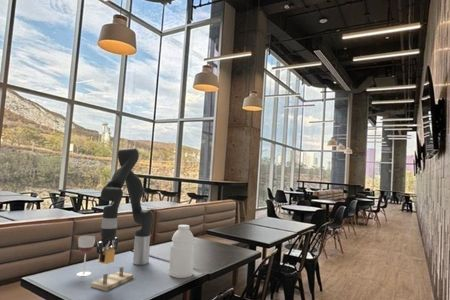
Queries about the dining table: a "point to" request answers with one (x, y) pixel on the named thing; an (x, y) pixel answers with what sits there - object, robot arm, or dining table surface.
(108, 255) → the wooden toy cube
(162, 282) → the dining table surface
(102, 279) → the wooden peg rack
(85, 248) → the wineglass
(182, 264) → the bottle
